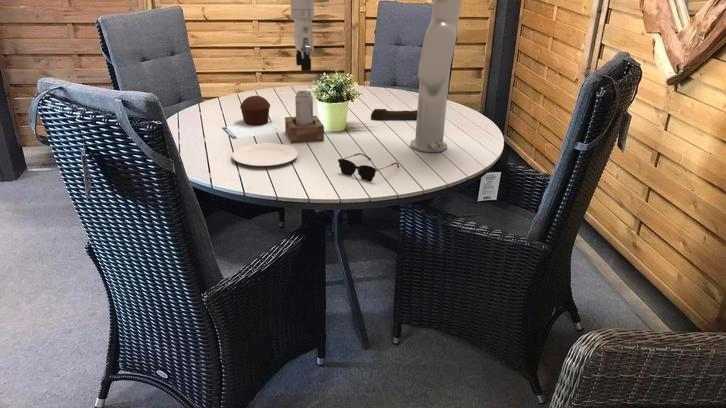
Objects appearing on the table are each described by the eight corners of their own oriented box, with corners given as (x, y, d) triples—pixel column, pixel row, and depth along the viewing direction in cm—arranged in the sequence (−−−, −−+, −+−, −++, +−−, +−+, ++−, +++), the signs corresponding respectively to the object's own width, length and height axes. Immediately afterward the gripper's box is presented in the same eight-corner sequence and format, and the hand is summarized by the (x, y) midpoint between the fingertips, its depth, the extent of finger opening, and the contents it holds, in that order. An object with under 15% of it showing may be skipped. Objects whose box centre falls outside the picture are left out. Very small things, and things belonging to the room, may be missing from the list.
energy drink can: (312, 136, 190) (311, 94, 184) (295, 136, 190) (294, 94, 184) (314, 131, 196) (313, 90, 189) (297, 131, 196) (296, 89, 189)
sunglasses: (336, 173, 163) (337, 157, 161) (366, 162, 175) (367, 147, 174) (375, 184, 156) (376, 168, 154) (402, 172, 169) (404, 156, 167)
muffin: (261, 128, 201) (260, 102, 196) (235, 125, 204) (233, 98, 200) (276, 120, 211) (275, 95, 207) (251, 117, 214) (249, 92, 210)
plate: (234, 173, 161) (234, 167, 160) (230, 150, 179) (229, 145, 178) (303, 168, 166) (303, 162, 165) (292, 146, 184) (292, 141, 183)
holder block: (323, 141, 189) (323, 126, 187) (291, 143, 186) (290, 128, 184) (316, 130, 201) (316, 115, 198) (285, 131, 198) (285, 117, 195)
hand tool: (416, 118, 219) (417, 107, 217) (418, 121, 216) (419, 110, 214) (370, 118, 218) (370, 107, 216) (371, 121, 214) (371, 109, 212)
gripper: (319, 17, 169) (319, 72, 177) (308, 12, 184) (309, 62, 192) (295, 17, 167) (296, 73, 175) (286, 12, 182) (288, 63, 190)
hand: (303, 67), depth 183 cm, fingers open, 9 cm apart
